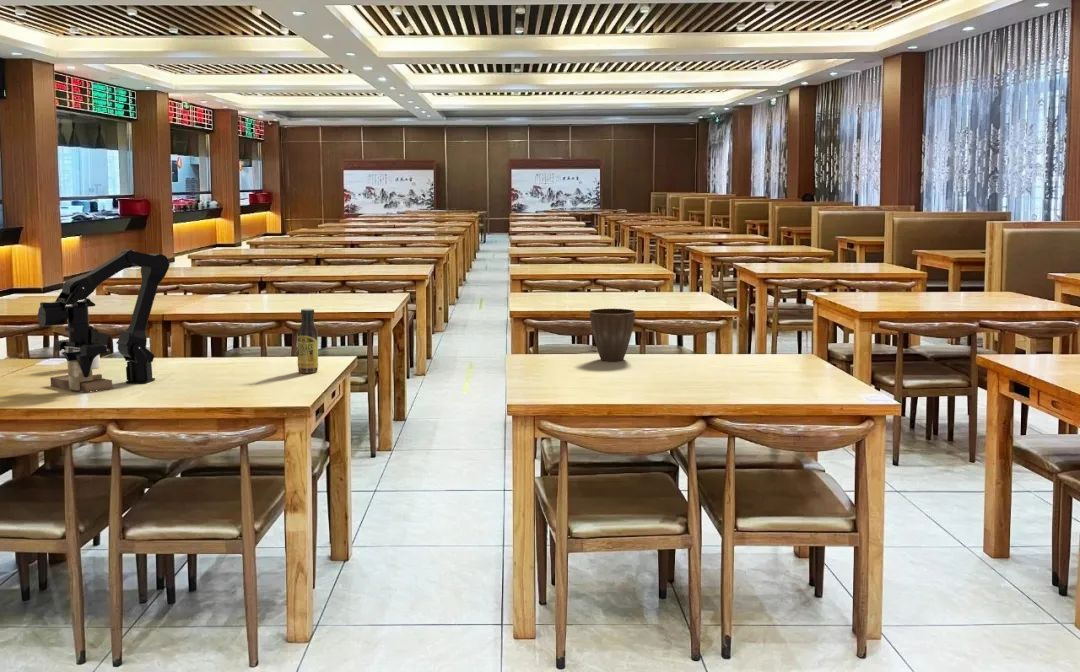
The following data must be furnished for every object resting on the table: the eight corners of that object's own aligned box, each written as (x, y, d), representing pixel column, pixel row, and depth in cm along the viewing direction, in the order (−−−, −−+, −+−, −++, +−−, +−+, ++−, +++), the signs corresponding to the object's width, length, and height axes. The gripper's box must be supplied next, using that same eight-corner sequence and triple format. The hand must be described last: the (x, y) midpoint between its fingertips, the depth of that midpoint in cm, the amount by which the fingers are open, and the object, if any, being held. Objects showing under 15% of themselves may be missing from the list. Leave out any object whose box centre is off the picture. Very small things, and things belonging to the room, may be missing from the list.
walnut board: (112, 388, 318) (111, 379, 317) (86, 392, 311) (86, 383, 311) (76, 381, 330) (75, 373, 329) (50, 385, 324) (50, 377, 323)
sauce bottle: (294, 373, 338) (291, 310, 335) (303, 370, 344) (300, 307, 341) (314, 374, 336) (311, 310, 334) (322, 370, 342) (320, 308, 340)
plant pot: (636, 356, 362) (636, 308, 360) (634, 363, 347) (633, 313, 345) (592, 355, 364) (591, 308, 362) (587, 363, 349) (587, 313, 347)
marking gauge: (105, 385, 319) (103, 358, 318) (76, 390, 312) (74, 362, 311) (97, 384, 321) (95, 357, 320) (69, 389, 314) (67, 361, 313)
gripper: (121, 322, 314) (125, 375, 316) (87, 318, 325) (91, 369, 327) (85, 326, 305) (89, 381, 307) (51, 322, 316) (55, 375, 319)
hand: (82, 376), depth 315 cm, fingers closed on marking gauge, 4 cm apart
